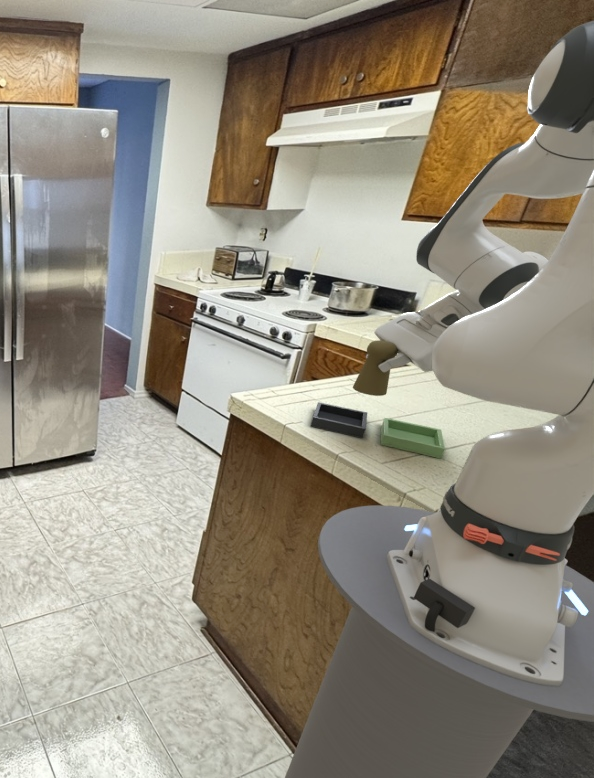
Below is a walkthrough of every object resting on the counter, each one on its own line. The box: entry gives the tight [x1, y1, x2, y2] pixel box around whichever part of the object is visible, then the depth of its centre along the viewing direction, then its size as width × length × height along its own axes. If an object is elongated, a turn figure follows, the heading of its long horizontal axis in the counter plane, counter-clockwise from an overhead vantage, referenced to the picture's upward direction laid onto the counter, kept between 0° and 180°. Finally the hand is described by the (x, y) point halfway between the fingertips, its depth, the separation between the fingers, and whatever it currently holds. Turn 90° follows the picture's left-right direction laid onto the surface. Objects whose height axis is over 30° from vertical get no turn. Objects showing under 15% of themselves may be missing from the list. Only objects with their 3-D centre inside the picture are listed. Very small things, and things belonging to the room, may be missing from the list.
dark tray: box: [310, 402, 368, 439], centre depth 116 cm, size 11×11×2 cm
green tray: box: [380, 417, 446, 459], centre depth 108 cm, size 11×11×2 cm
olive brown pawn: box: [352, 339, 398, 397], centre depth 99 cm, size 6×6×11 cm
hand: (374, 364), depth 99 cm, fingers closed on olive brown pawn, 4 cm apart
